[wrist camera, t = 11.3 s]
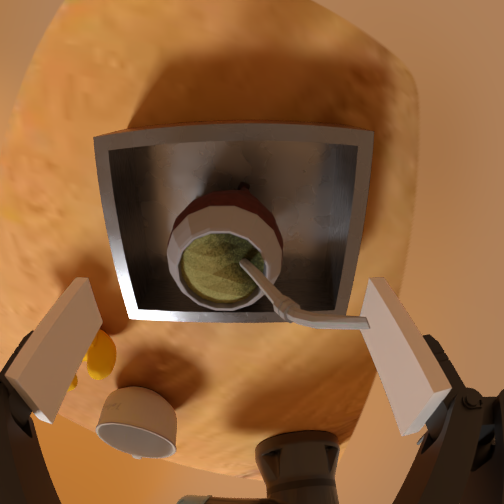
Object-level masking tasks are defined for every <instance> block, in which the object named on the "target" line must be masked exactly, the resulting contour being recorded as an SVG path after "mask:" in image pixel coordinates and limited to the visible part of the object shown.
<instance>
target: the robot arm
mask: <svg viewBox="0 0 504 504" xmlns="http://www.w3.org/2000/svg"><path fill="white" fill-rule="evenodd" d="M360 316H361V317H366V318H367V320H368V323H369V326H370V329H360V331H361V333H362V335H363V338H364V340H365V343H366V345H367V347H368V350H369V352H370V354H371V357H372V359H373V362H374V364H375V367H376V369H377V372H378V374H379V377H380V379H381V382H382V384H383V387H384V389H385V392H386V395H387V397H388V400H389V403H390V405H391V408H392V411H393V413H394V416H395V419H396V422H397V425H398V427H399V430H400V433H401V436H405V435H408V434H412V433H416V432H418V431H419V430H420V429H421V428H422V427H423V426H424V424H426V426H427V429H428V431H427V432H426V433H425V434H424V435H423V436H422V437H421V438H420V440H419V441H418V442H417V444H418V445H419V444H420V443H421V442H422V443H421V446H420V448H419V450H418V453H417V455H416V457H415V460H414V462H413V464H412V466H411V468H410V471H409V473H408V475H407V477H406V479H405V481H404V483H403V485H402V487H401V489H400V491H399V493H398V494H397V496H396V498H395V500H394V502H393V503H392V504H459V503H460V504H504V389H503V390H502V391H501V392H500V394H499V395H498V396H497V397H482V395H481V394H480V393H479V392H478V391H476V390H475V389H472V388H466V387H465V385H464V384H463V382H462V380H461V379H460V377H459V375H458V373H457V372H456V370H455V368H454V366H453V365H452V363H451V362H450V360H448V356H447V355H446V353H444V350H443V349H442V347H441V345H440V344H439V342H438V341H437V340H435V339H434V338H433V337H432V336H431V335H423V336H422V335H421V333H420V331H419V330H418V328H417V327H416V325H415V323H414V322H413V320H412V319H411V317H410V315H409V314H408V312H407V311H406V310H405V308H404V306H403V305H402V303H401V302H400V300H399V299H398V297H397V296H396V294H395V293H394V291H393V290H392V288H391V287H390V285H389V284H388V283H387V281H386V280H385V278H384V277H378V278H369V281H368V285H367V290H366V294H365V298H364V302H363V306H362V310H361V314H360ZM102 323H103V321H102V318H101V315H100V312H99V310H98V307H97V304H96V301H95V298H94V295H93V291H92V288H91V285H90V282H89V278H85V277H76V278H75V279H74V280H73V281H72V283H71V284H70V285H69V286H68V287H67V289H66V290H65V291H64V292H63V294H62V295H61V296H60V297H59V299H58V300H57V301H56V302H55V304H54V305H53V306H52V308H51V309H50V310H49V311H48V313H47V314H46V315H45V317H44V318H43V319H42V321H41V322H40V323H39V325H38V326H37V328H36V329H35V330H34V331H33V330H32V331H31V332H30V333H29V334H27V335H26V336H25V337H24V338H23V340H22V341H21V342H20V344H19V347H17V348H16V350H15V351H14V353H13V354H12V355H11V357H10V358H9V360H8V361H7V363H6V365H5V366H4V368H3V369H2V371H1V372H0V504H61V502H60V500H59V497H58V495H57V493H56V490H55V488H54V486H53V483H52V480H51V478H50V475H49V472H48V470H47V467H46V464H45V461H44V458H43V455H42V452H41V448H40V446H39V442H38V438H37V435H36V431H35V427H34V423H33V420H32V418H31V417H30V414H31V412H33V413H34V414H35V415H36V416H37V417H38V418H39V419H40V420H42V421H45V422H48V423H51V424H53V422H54V419H55V417H56V415H57V413H58V410H59V408H60V406H61V404H62V401H63V399H64V397H65V395H66V393H67V391H68V389H69V386H70V384H71V382H72V380H73V378H74V376H75V374H76V372H77V370H78V368H79V366H80V364H81V362H82V360H83V358H84V356H85V354H86V353H87V351H88V349H89V347H90V345H91V343H92V341H93V339H94V337H95V336H96V334H97V332H98V330H99V328H100V327H101V325H102ZM339 451H340V448H339V443H338V438H337V437H336V436H335V435H333V434H331V433H328V432H322V431H301V432H293V433H287V434H283V435H279V436H275V437H272V438H269V439H267V440H265V441H263V442H261V443H260V444H259V445H258V446H257V447H256V449H255V459H256V463H257V465H258V468H259V470H260V473H261V475H262V477H263V480H264V482H265V484H266V488H267V498H265V499H258V498H255V499H254V498H253V499H252V498H250V499H249V498H245V499H244V498H220V497H212V496H211V495H208V496H196V495H186V496H184V497H182V498H181V499H180V500H179V501H178V502H177V504H339V501H338V495H337V490H336V484H335V472H336V467H337V462H338V456H339Z"/></svg>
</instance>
